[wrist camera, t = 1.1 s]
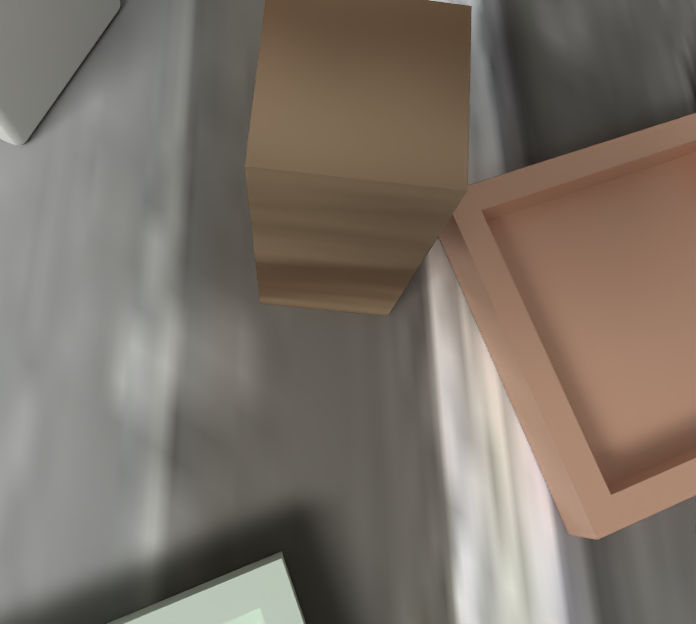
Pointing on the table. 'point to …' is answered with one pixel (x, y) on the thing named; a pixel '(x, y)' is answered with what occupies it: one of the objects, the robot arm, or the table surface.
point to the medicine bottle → (43, 55)
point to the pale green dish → (230, 599)
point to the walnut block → (355, 147)
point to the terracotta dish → (593, 317)
